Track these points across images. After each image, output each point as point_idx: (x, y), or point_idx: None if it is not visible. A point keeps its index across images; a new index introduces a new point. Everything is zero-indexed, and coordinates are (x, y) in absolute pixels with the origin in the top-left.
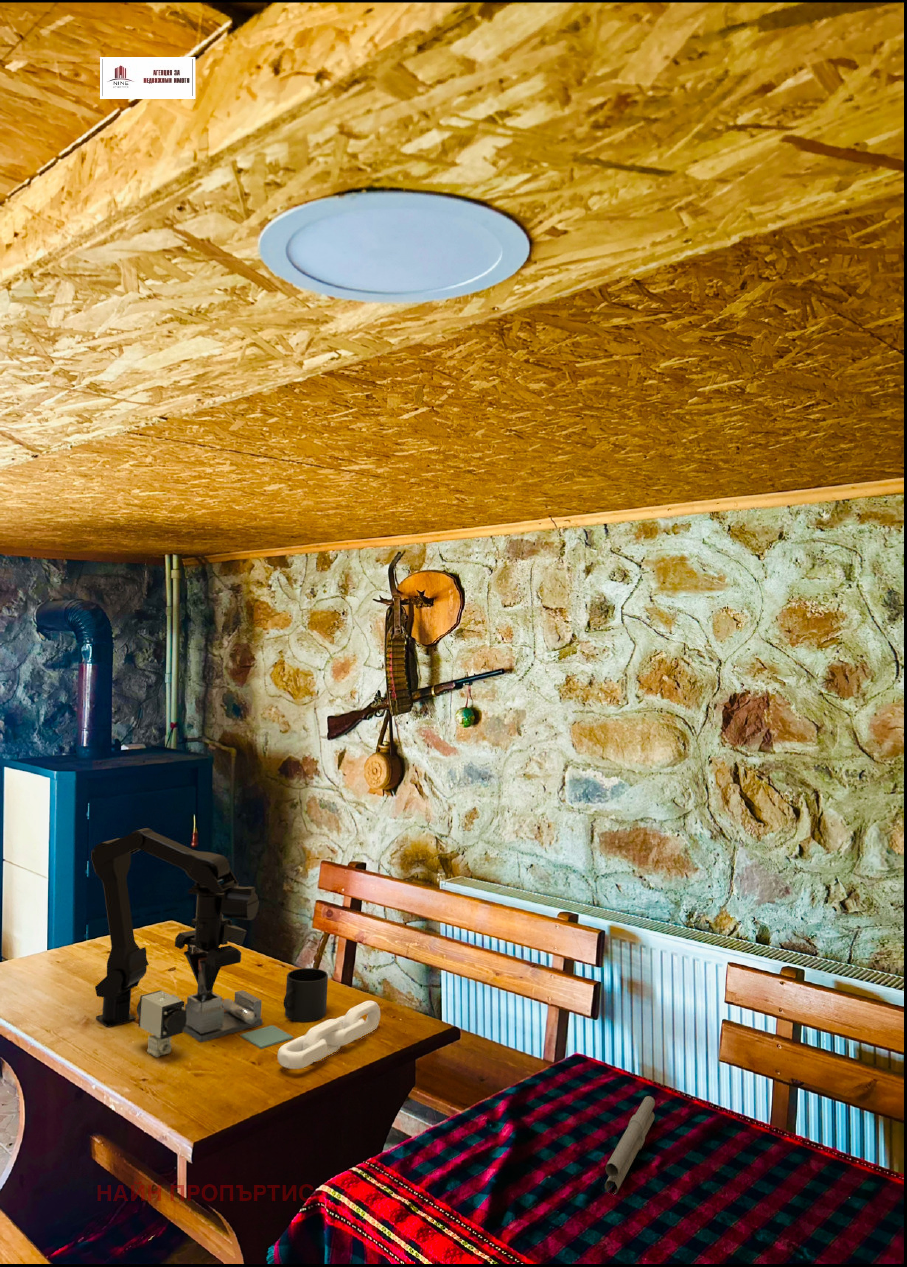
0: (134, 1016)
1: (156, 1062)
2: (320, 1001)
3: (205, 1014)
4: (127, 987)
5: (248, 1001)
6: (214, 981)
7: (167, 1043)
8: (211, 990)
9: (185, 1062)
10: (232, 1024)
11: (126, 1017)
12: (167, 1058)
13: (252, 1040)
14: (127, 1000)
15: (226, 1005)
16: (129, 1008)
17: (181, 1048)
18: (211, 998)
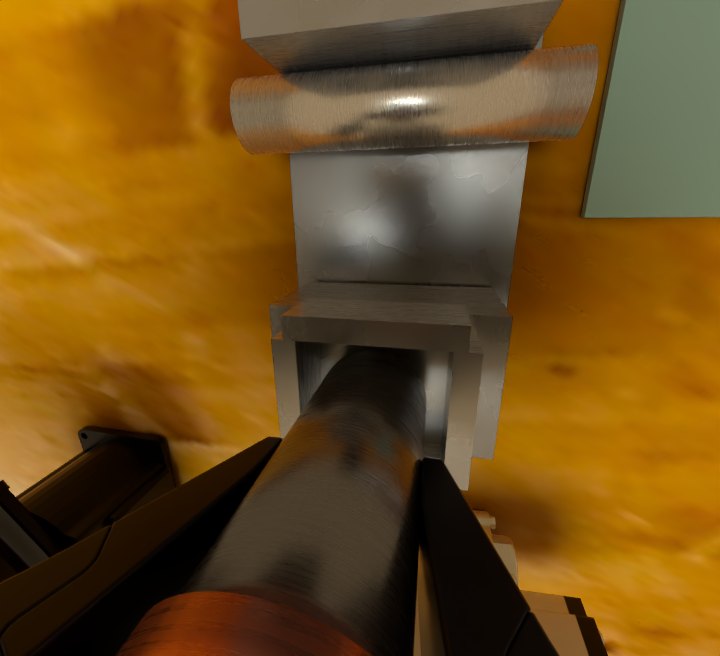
0: (145, 438)
1: (519, 568)
2: None
3: (495, 439)
4: (28, 541)
5: (460, 20)
6: (480, 529)
7: (517, 579)
8: (416, 432)
9: (606, 521)
10: (475, 209)
11: (164, 483)
12: (519, 535)
13: (716, 207)
14: (106, 525)
15: (295, 146)
16: (138, 497)
17: (480, 465)
18: (416, 386)
